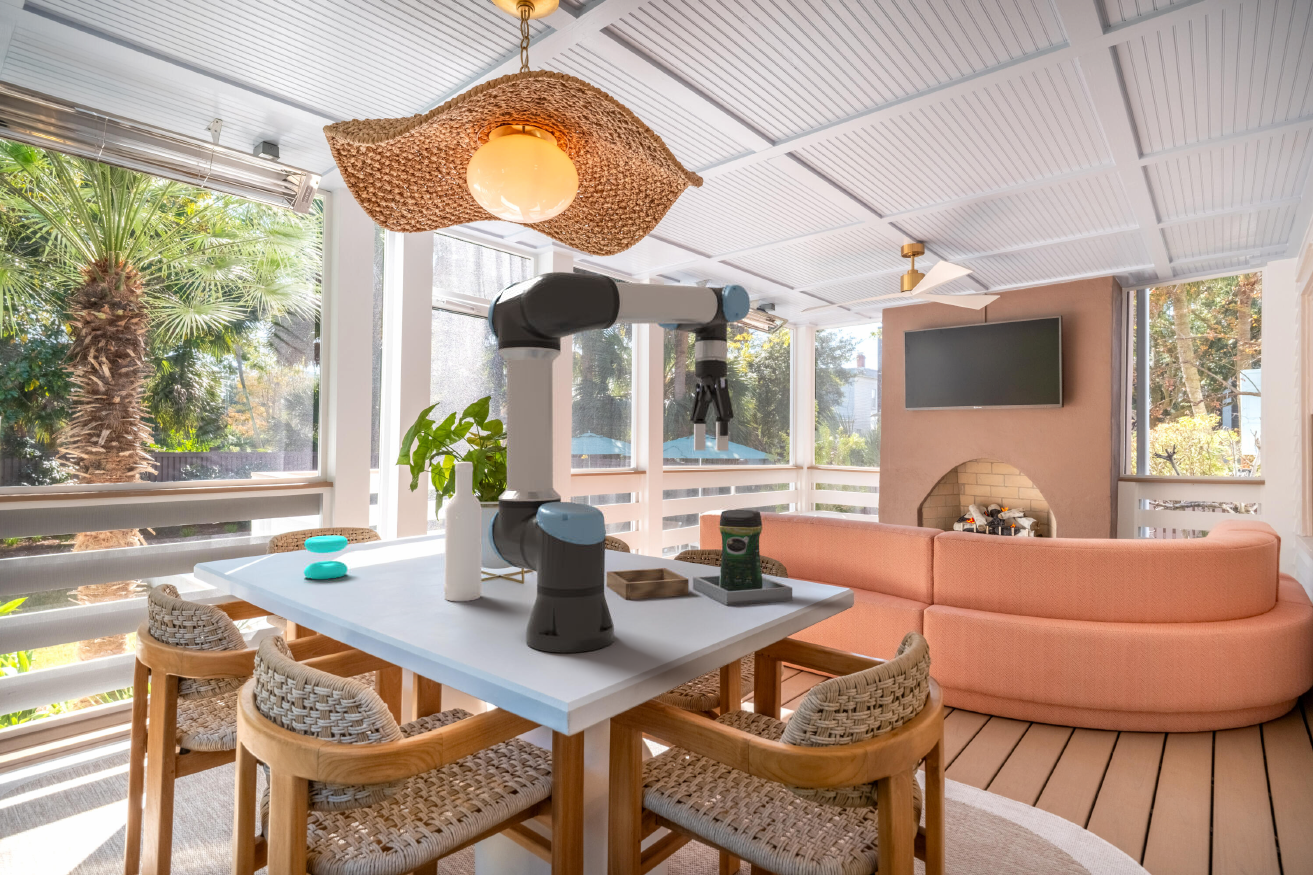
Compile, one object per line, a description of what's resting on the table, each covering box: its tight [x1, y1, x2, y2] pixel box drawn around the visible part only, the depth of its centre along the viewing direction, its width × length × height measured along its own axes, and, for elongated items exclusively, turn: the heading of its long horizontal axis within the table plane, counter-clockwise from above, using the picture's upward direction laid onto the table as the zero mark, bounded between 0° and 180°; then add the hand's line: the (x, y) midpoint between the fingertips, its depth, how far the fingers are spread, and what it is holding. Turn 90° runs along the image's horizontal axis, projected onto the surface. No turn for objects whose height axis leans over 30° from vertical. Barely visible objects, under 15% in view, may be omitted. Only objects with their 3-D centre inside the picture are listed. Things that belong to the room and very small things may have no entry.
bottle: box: [443, 461, 483, 602], centre depth 149 cm, size 8×8×30 cm
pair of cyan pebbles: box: [303, 535, 349, 580], centre depth 172 cm, size 10×10×10 cm
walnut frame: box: [606, 567, 690, 600], centre depth 158 cm, size 15×15×4 cm
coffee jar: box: [718, 508, 763, 591], centre depth 154 cm, size 10×8×19 cm
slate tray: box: [692, 574, 793, 607], centre depth 154 cm, size 16×18×3 cm
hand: (710, 450), depth 159 cm, fingers open, 13 cm apart
